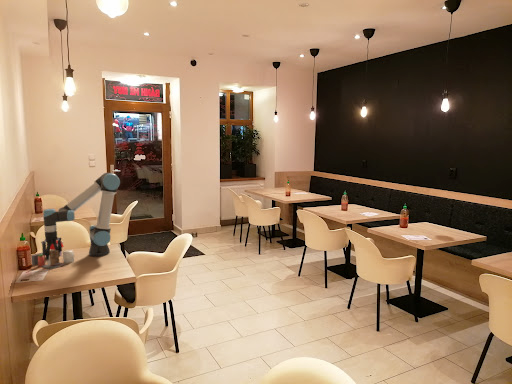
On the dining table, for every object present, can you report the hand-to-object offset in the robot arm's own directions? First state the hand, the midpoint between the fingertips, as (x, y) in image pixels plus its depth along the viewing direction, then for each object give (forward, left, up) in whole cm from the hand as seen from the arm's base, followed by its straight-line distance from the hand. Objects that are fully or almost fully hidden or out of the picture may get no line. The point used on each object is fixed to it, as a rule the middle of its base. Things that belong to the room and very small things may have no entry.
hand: (53, 262), depth 273 cm
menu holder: (+2, -15, -2) cm, 15 cm away
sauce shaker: (+4, -8, -2) cm, 9 cm away
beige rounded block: (-11, +1, -2) cm, 11 cm away
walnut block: (0, 0, 0) cm, 0 cm away
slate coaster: (0, 0, -2) cm, 2 cm away
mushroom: (-16, -22, -3) cm, 27 cm away
